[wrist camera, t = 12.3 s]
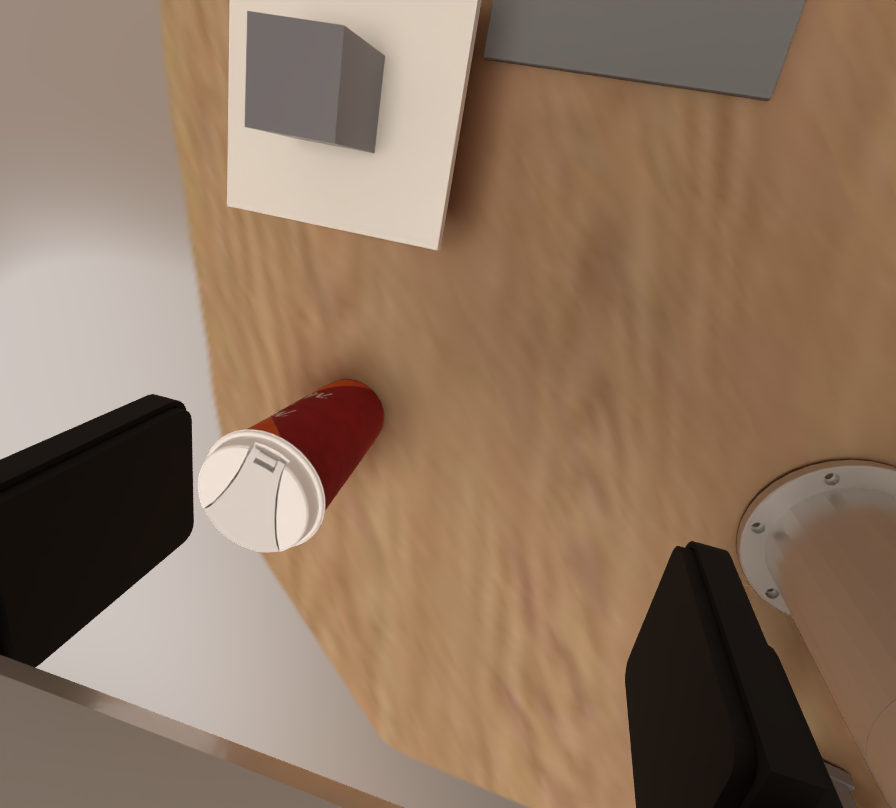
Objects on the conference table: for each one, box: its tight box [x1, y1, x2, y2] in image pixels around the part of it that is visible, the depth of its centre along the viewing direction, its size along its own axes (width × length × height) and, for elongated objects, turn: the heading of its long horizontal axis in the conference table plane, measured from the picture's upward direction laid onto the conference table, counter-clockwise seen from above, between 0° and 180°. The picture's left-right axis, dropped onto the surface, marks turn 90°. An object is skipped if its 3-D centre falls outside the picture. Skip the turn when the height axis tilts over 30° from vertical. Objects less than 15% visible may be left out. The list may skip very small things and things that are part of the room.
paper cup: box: [198, 380, 384, 552], centre depth 36 cm, size 8×8×14 cm
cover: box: [227, 0, 482, 250], centre depth 26 cm, size 13×13×6 cm
